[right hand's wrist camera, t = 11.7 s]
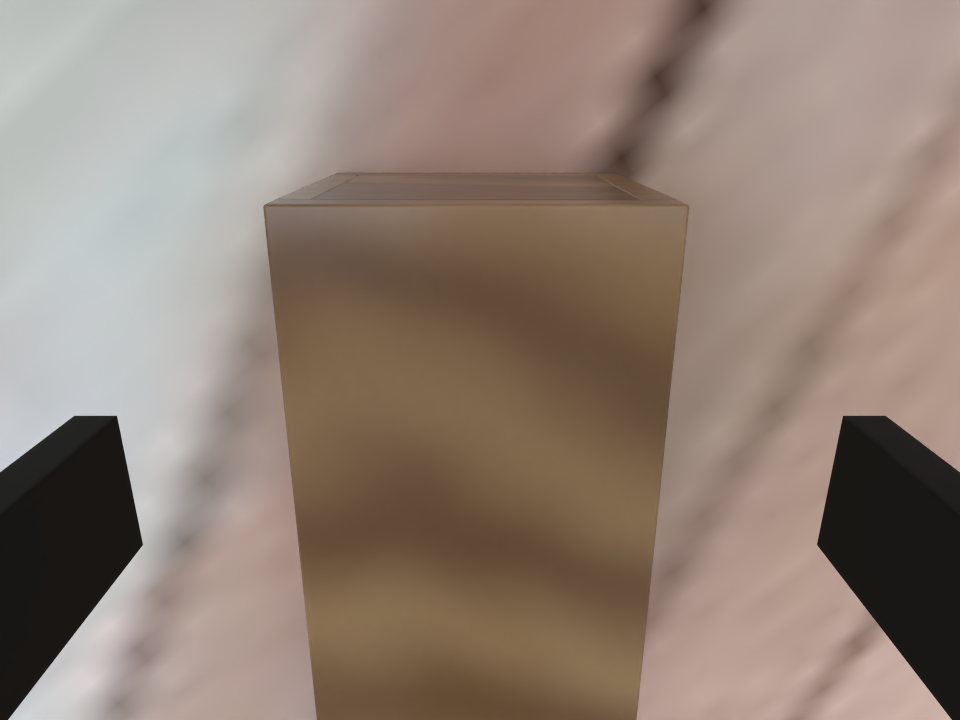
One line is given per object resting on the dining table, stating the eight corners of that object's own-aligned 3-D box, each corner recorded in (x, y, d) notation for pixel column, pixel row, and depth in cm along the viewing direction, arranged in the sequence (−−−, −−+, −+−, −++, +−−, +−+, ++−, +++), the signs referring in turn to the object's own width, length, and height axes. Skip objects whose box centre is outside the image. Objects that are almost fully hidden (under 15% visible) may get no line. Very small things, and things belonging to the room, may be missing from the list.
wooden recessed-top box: (586, 628, 32) (626, 818, 23) (367, 628, 32) (326, 818, 23) (617, 172, 25) (690, 204, 16) (336, 172, 25) (261, 204, 16)
